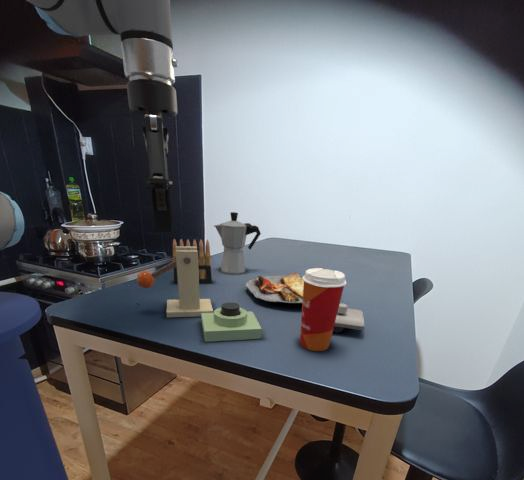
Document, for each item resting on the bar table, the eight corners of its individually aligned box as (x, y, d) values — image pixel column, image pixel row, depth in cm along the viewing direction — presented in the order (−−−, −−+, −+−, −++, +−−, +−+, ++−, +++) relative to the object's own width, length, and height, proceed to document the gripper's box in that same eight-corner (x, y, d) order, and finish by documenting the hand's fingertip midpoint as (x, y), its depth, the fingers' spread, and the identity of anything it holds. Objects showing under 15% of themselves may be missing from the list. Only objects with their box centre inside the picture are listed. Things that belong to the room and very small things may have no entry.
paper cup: (300, 332, 66) (309, 265, 59) (337, 340, 64) (350, 271, 57) (289, 348, 59) (297, 274, 53) (330, 358, 57) (344, 282, 50)
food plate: (237, 282, 94) (237, 271, 92) (308, 280, 101) (309, 269, 99) (263, 314, 73) (264, 300, 72) (350, 308, 80) (352, 295, 79)
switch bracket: (166, 317, 69) (160, 252, 62) (167, 304, 75) (162, 244, 69) (213, 315, 71) (212, 253, 64) (209, 303, 78) (208, 245, 71)
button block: (204, 341, 60) (204, 322, 58) (201, 322, 67) (200, 304, 65) (261, 338, 62) (262, 320, 60) (252, 320, 70) (252, 303, 68)
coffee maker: (213, 273, 101) (212, 212, 93) (214, 266, 109) (214, 209, 101) (259, 275, 103) (262, 215, 94) (257, 268, 111) (260, 212, 102)
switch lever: (142, 293, 67) (132, 278, 65) (144, 288, 70) (134, 273, 68) (197, 263, 67) (188, 248, 65) (196, 259, 70) (187, 244, 68)
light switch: (360, 320, 73) (364, 300, 71) (362, 338, 65) (367, 316, 63) (317, 315, 75) (320, 294, 73) (314, 332, 67) (317, 309, 64)
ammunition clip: (211, 281, 94) (210, 239, 88) (211, 283, 92) (211, 240, 87) (174, 281, 91) (170, 238, 86) (174, 283, 90) (170, 239, 84)
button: (222, 317, 61) (222, 309, 60) (220, 310, 64) (220, 302, 63) (240, 317, 62) (241, 308, 61) (237, 310, 65) (238, 302, 64)
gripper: (176, 63, 40) (187, 237, 51) (175, 101, 62) (183, 218, 72) (112, 55, 39) (137, 236, 49) (134, 97, 60) (148, 217, 70)
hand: (165, 226), depth 60 cm, fingers open, 13 cm apart
